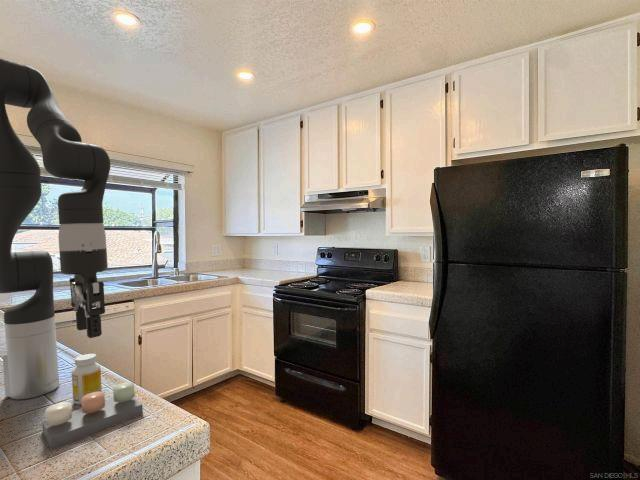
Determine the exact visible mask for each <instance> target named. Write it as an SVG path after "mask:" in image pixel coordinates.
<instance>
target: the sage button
mask: <svg viewBox="0 0 640 480" xmlns="http://www.w3.org/2000/svg"><path fill="white" fill-rule="evenodd" d="M112 391H113V392H112V393H113V398H114V401H115V402H124V401H128V400H130V399H132V398H133V397H134V398H135V395H136V394H135V393H136V392H135V383H134V382H131V381H126V382H125V381H124V382H121V383H118V384H116V385H115V386H113V388H112Z"/></svg>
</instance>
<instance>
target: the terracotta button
mask: <svg viewBox="0 0 640 480" xmlns="http://www.w3.org/2000/svg"><path fill="white" fill-rule="evenodd" d="M105 400H106V398H105V392H104V391H102V392H93V393H89V394H87V395H85V396H83V397H82V398H81V402H82V404H81V408H82V412H83V413H93V412H96V411H99V410H101V409H103V408H104V407H105Z"/></svg>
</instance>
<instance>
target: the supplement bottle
mask: <svg viewBox="0 0 640 480" xmlns="http://www.w3.org/2000/svg"><path fill="white" fill-rule="evenodd" d="M97 360H98V359H97V354H96V353H87V354H82V355H79V356H77V357H75V358H74V366H75V367H73V368H72V371H71V382H72V383H71V384H72V400H73V403H74V404H76V405H82V402H81V398H82V397H83V396H85V395H87V394H89V393H93V392H103V390H102V373H101V371H102V370H101V365H100V364H99V362H97Z"/></svg>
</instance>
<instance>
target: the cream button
mask: <svg viewBox="0 0 640 480" xmlns="http://www.w3.org/2000/svg"><path fill="white" fill-rule="evenodd" d="M72 411H73V410H72V403H71V402H69V401H64V402H63V401H62V402H58V403H55V404H52V405H50V406H48V407H46V409H45V421H46V424H47V425H48V426H55V425H59V424H62V423H65V422H67V421H69V420H70V419H71V418H72Z"/></svg>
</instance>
